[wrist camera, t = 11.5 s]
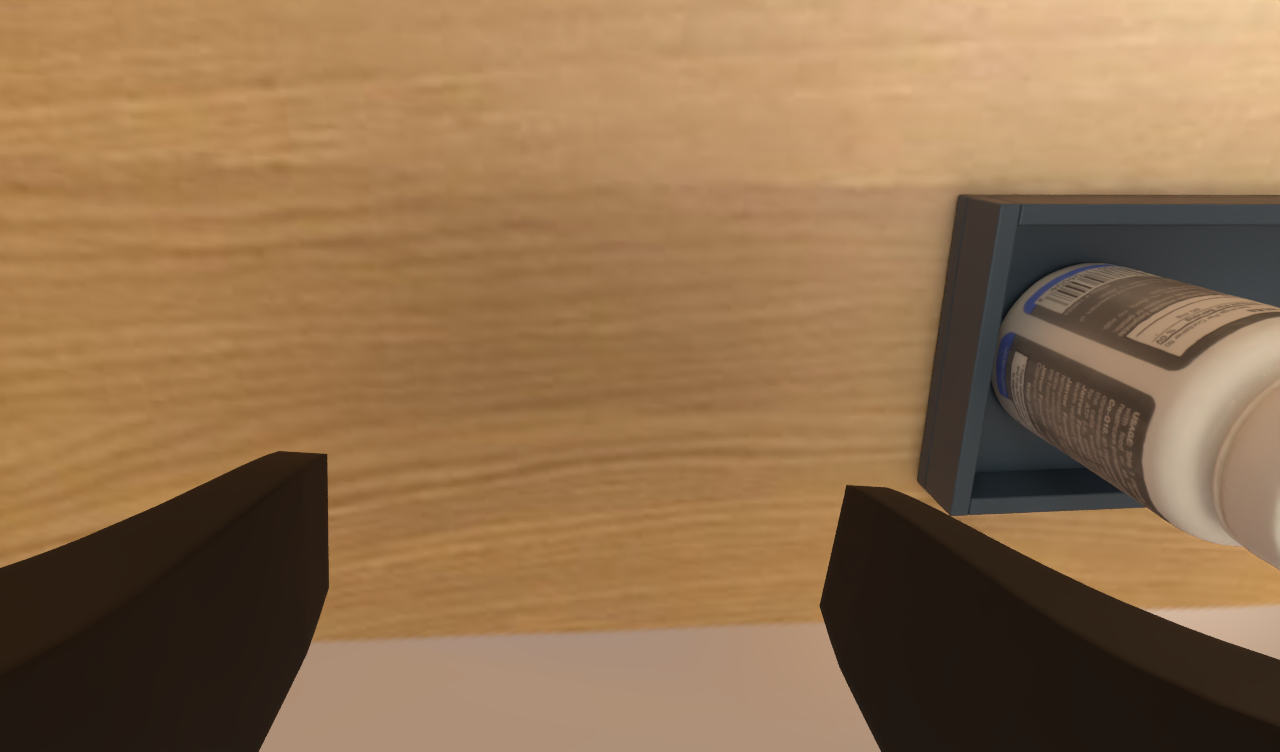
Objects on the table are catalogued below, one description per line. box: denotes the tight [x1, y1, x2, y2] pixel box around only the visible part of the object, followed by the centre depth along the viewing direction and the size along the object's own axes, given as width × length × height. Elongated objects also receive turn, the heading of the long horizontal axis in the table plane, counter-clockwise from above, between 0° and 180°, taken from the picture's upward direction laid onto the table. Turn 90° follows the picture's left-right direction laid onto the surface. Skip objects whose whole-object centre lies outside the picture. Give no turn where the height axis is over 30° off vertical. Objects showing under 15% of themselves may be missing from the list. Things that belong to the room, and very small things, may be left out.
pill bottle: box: [991, 263, 1280, 570], centre depth 17 cm, size 5×5×8 cm
